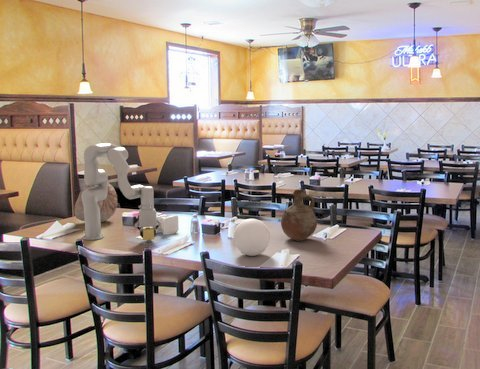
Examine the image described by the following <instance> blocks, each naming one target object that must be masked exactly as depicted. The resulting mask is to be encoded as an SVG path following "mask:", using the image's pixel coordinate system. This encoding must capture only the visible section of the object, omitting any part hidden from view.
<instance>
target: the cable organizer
mask: <svg viewBox="0 0 480 369" xmlns="http://www.w3.org/2000/svg"><path fill="white" fill-rule="evenodd" d="M156 218H157V220H158V221H159V222H160V223H161V225H160V226H159V227H158V228H157V229H156V234H161V233H162V235H164V236H166V235H174V234H177V233H178V232H179V216H178V215H175V214H174V215H170V216H169V215H168V214H165V213H164V214H161V215H156ZM157 225H158V223H157ZM152 227H153V226H152ZM153 229H154V228H153Z"/></svg>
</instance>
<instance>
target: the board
mask: <svg viewBox="0 0 480 369" xmlns="http://www.w3.org/2000/svg"><path fill="white" fill-rule="evenodd" d="M168 240H170V238H168V237H162V236H158V235H157V236H156V235H155V237H154V239H153V240H143V238H142V237H141V236H140V235H138V236H134V237H130V238H125V239H124V241H126V242H130V243H135V244H140V245H144V246H150V245H154V244H155V245H156V244H159V243H163V242H166V241H168Z"/></svg>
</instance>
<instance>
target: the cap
mask: <svg viewBox="0 0 480 369" xmlns="http://www.w3.org/2000/svg"><path fill="white" fill-rule="evenodd" d="M142 231H143V240H153V239H154V229H153V227H143V229H142Z"/></svg>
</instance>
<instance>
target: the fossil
mask: <svg viewBox="0 0 480 369" xmlns="http://www.w3.org/2000/svg"><path fill="white" fill-rule="evenodd" d="M92 187H95V185H94V186H88V185H86V186H85V187H84V188H82V190H81V191H80V192H79V194H78V197H77V199H76V201H75V203H74V217H75V218H76V219H77V220H80V221H82V222H85V219H84V206H83V202H82V197H81V195H82V192H83V191H84V190H85V189H88V188H92ZM118 203H119V202H118V194H117V192H116V189H115V188H114V186H113V185H112V184H110V182H108V193H107V197H106V199H104V200H102V201H99V202H97V204H98V206H99V208H100V222H101V223H103V222H106V221H108V220H109V219H111V218H112V216H114V214H115V213H116V210H117V207H118Z"/></svg>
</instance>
